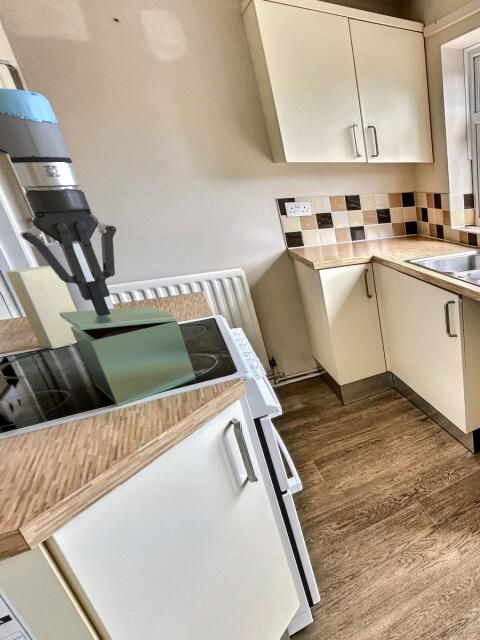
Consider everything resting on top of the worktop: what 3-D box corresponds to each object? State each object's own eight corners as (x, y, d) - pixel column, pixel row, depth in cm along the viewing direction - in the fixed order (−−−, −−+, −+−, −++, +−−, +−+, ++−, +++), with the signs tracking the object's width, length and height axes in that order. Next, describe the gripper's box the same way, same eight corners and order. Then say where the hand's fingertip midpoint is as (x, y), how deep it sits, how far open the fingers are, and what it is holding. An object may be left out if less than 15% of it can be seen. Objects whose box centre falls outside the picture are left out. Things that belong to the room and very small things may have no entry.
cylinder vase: (84, 328, 129) (50, 246, 120) (55, 326, 132) (19, 246, 123) (127, 316, 141) (98, 240, 132) (99, 314, 143) (69, 240, 134)
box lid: (79, 330, 76) (79, 325, 76) (60, 316, 85) (59, 312, 85) (176, 321, 88) (176, 317, 88) (150, 309, 96) (150, 306, 96)
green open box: (118, 406, 83) (90, 341, 78) (96, 386, 91) (70, 326, 86) (196, 380, 93) (177, 321, 88) (170, 364, 102) (151, 310, 97)
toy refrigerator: (75, 336, 123) (44, 265, 115) (89, 339, 120) (58, 266, 113) (38, 346, 116) (3, 271, 108) (53, 349, 113) (17, 272, 106)
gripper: (2, 190, 69) (63, 326, 77) (107, 187, 79) (150, 308, 87) (-4, 190, 73) (53, 320, 81) (96, 188, 83) (138, 303, 91)
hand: (103, 314), depth 84 cm, fingers closed
